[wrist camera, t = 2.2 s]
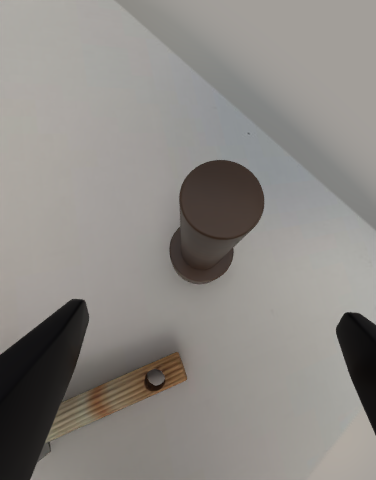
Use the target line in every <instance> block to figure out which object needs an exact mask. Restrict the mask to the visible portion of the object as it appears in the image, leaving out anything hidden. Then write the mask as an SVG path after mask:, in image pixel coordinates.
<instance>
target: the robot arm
mask: <svg viewBox="0 0 376 480" xmlns="http://www.w3.org/2000/svg"><path fill="white" fill-rule="evenodd" d="M88 322H89V314H88V310H87V306H86V302H85V300H83V299H72V300H70V301H69V302H67V303H66V304H65V305H64V306H62V307H61V308H60V309H58V310H57V311H56V312H55V313H53V314H52V315H51V316H49V317H48V318H47V319H46V320H44V321H43V322H42V323H41V324H39V325H38V326H37V327H35V328H34V329H33V330H32V331H30V332H29V333H28V334H27V335H25V336H24V337H23V338H21V339H20V340H19V341H18V342H16V343H15V344H14V345H12V346H11V347H10V348H9V349H7V350H6V351H5V352H4V353H2V354H1V355H0V480H30V479H31V476H32V474H33V471H34V469H35V466H36V464H37V461H38V459H39V456H40V454H41V451H42V449H43V446H44V444H45V441H46V439H47V437H48V434H49V432H50V429H51V427H52V424H53V422H54V419H55V417H56V414H57V412H58V409H59V407H60V404H61V402H62V399H63V397H64V394H65V392H66V389H67V387H68V384H69V382H70V380H71V377H72V375H73V372H74V369H75V367H76V364H77V360H78V357H79V354H80V350H81V347H82V343H83V340H84V336H85V333H86V329H87V326H88ZM336 334H337V338H338V341H339V344H340V347H341V350H342V353H343V356H344V359H345V362H346V365H347V368H348V371H349V374H350V377H351V379H352V382H353V384H354V387H355V389H356V391H357V394H358V396H359V398H360V400H361V403H362V405H363V407H364V410H365V412H366V414H367V416H368V419H369V421H370V423H371V425H372V428H373V430H374V432H375V435H376V325H375V324H374V323H372V322H371V321H370V320H368V319H367V318H365V317H364V316H363V315H361V314H359V313H352V312H347V313H345V314H344V315H343V317H342V318H341V320H340V322H339V324H338V325H337V327H336Z"/></svg>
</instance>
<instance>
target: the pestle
mask: <svg viewBox="0 0 376 480" xmlns="http://www.w3.org/2000/svg"><path fill="white" fill-rule="evenodd" d="M179 204H180V227H179V228H178V229H177V231H176V232H175V233H174V235H173V237H172V239H171V242H170V257H171V261H172V264H173V267H174V269H175V271H176V272H177V274H178V275H179V276H180V277H181V278H183V279H184V280H186V281H188V282H190V283H194V284H205V283H208V282H211V281H213V280H215V279H217V278H218V277H220V276H221V275H223V274H224V273H225V272H226V271H227V269H228V268H229V266H230V264H231V262H232V259H233V253H234V252H233V247H234V246H235V245H236V244H237V243H239V242H240V241H241V240H242V239H243V238H244V237H245V236H246V235H247V234H248V233H249V232H250V231H251V230H252V229H253V228H254V227H255V226H256V225H257V223H258V222H259V220H260V218H261V216H262V213H263V209H264V195H263V190H262V187H261V185H260V183H259V181H258V180H257V178H256V177H255V176H254V175H253V173H251V172H250V171H249V170H248V169H247V168H245V167H244V166H242V165H240V164H237V163H235V162H231V161H226V160H215V161H209V162H206V163H204V164H202V165H199V166H198V167H196V168H195V169H194V170H192V171H191V172H190V173H189V174H188V176H187V177H186V178H185V180H184V182H183V184H182V186H181V190H180V196H179Z"/></svg>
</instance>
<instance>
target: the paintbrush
mask: <svg viewBox="0 0 376 480" xmlns="http://www.w3.org/2000/svg"><path fill="white" fill-rule="evenodd" d="M152 369H158V370H160V371H162V373H163V374H164V375H165V380H164V382H163V383H162V384H160V385H157V386H154V385H153V384H151V383H150V382H149V380H148V379H147V373H148V372H149V371H150V370H152ZM186 380H187V376H186V373H185V370H184V366H183V364H182V361H181V358H180V356H179V353H178V352H176V353H173V354H171V355H169V356H166V357H164V358H162V359H160V360H157V361H155V362H153V363H150V364H148V365H146V366H144V367H141V368H139V369H137V370H134V371H132V372H130V373H128V374H125V375H123V376H121V377H118V378H116V379H114V380H112V381H109V382H107V383H105V384H103V385H100V386H98V387H96V388H94V389H91V390H89V391H87V392H85V393H82V394H80V395H78V396H76V397H73V398H71V399H69V400H66V401H64V402H62V403H61V404H60V407H59V409H58V412H57V414H56V417H55V419H54V422H53V424H52V427H51V429H50V432H49V434H48V437H47V439H46V441H45V444H44V446H43V449H42V451H41V454H40V456H39V459H38V461H39V460H41V459H42V458H43V457H44V456H46V455H47V454H48V453H50V447H49V443H48V442H49V441H51V440H54V439H56V438H58V437H60V436H62V435H65V434H67V433H69V432H71V431H73V430H75V429H78V428H80V427H82V426H84V425H87V424H89V423H91V422H93V421H96V420H98V419H100V418H102V417H105V416H107V415H109V414H111V413H114V412H116V411H118V410H120V409H123V408H125V407H127V406H130V405H132V404H134V403H136V402H139V401H141V400H143V399H145V398H148V397H150V396H152V395H154V394H157V393H159V392H161V391H163V390H166V389H168V388H170V387H172V386H175V385H177V384H179V383H181V382H184V381H186ZM38 461H37V462H38Z"/></svg>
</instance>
